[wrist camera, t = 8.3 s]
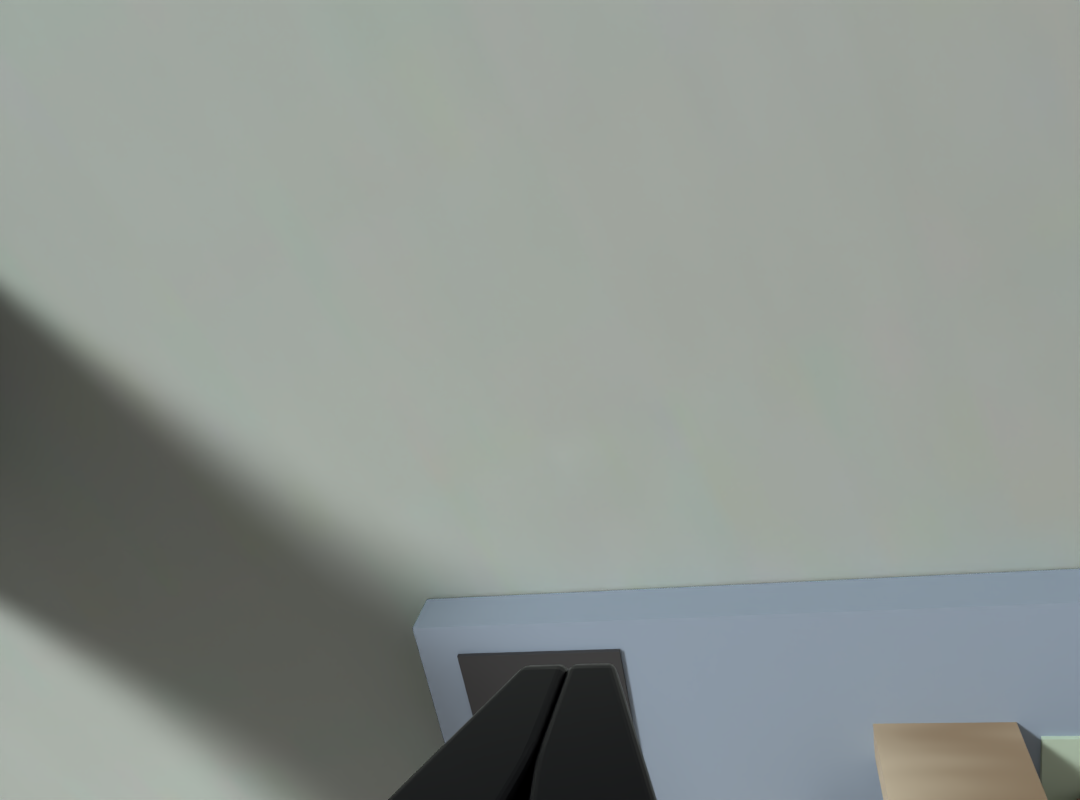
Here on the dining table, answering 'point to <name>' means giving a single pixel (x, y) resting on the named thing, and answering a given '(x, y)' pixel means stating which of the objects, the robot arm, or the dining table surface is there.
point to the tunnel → (955, 762)
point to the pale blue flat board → (787, 671)
